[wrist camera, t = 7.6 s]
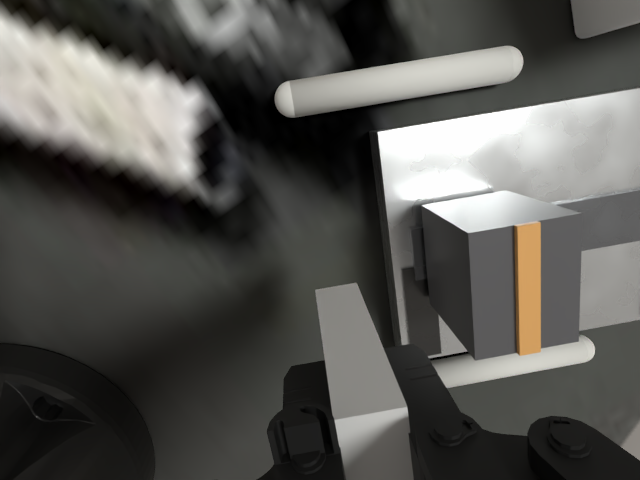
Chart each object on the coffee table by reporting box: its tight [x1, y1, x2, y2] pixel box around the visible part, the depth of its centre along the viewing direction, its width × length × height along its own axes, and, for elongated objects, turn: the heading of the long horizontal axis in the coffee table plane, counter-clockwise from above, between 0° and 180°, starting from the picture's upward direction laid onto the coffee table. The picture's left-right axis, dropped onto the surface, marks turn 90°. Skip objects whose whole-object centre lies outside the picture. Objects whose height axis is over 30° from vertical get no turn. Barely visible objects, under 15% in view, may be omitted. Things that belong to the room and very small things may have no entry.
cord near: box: [275, 46, 523, 118], centre depth 18 cm, size 12×2×2 cm, turn 99°
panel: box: [369, 86, 640, 358], centre depth 21 cm, size 15×12×2 cm
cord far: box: [431, 335, 595, 388], centre depth 23 cm, size 12×2×2 cm, turn 99°
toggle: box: [421, 190, 583, 361], centre depth 17 cm, size 4×5×5 cm
